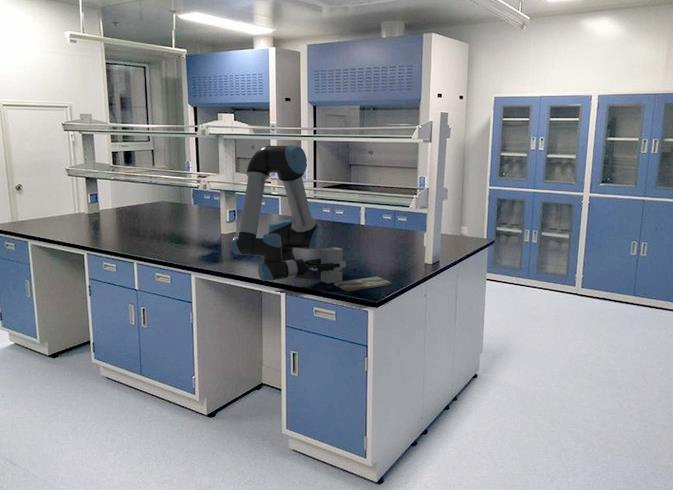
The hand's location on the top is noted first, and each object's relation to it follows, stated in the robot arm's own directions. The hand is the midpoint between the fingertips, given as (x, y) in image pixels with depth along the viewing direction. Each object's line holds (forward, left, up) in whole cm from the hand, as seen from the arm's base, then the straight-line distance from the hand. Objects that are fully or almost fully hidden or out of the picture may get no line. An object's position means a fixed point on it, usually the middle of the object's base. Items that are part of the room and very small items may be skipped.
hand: (341, 262), depth 246 cm
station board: (+12, +4, -8) cm, 15 cm away
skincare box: (0, -5, -8) cm, 10 cm away
